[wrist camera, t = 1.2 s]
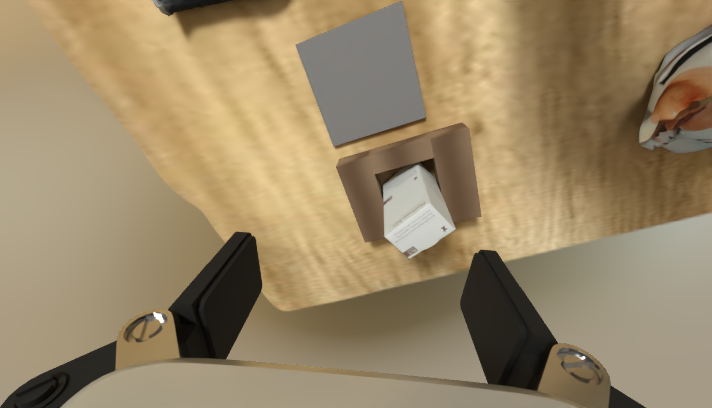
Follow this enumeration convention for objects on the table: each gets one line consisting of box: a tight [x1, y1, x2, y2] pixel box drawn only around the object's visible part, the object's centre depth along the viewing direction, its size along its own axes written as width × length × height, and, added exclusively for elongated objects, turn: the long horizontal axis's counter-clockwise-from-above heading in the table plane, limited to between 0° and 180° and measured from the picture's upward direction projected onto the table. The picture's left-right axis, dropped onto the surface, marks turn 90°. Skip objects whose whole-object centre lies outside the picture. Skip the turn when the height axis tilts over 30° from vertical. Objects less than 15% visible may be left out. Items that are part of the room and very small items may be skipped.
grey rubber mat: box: [296, 1, 426, 146], centre depth 31 cm, size 12×12×1 cm
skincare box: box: [383, 162, 456, 259], centre depth 32 cm, size 6×4×12 cm
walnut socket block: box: [336, 123, 481, 242], centre depth 36 cm, size 16×12×3 cm
